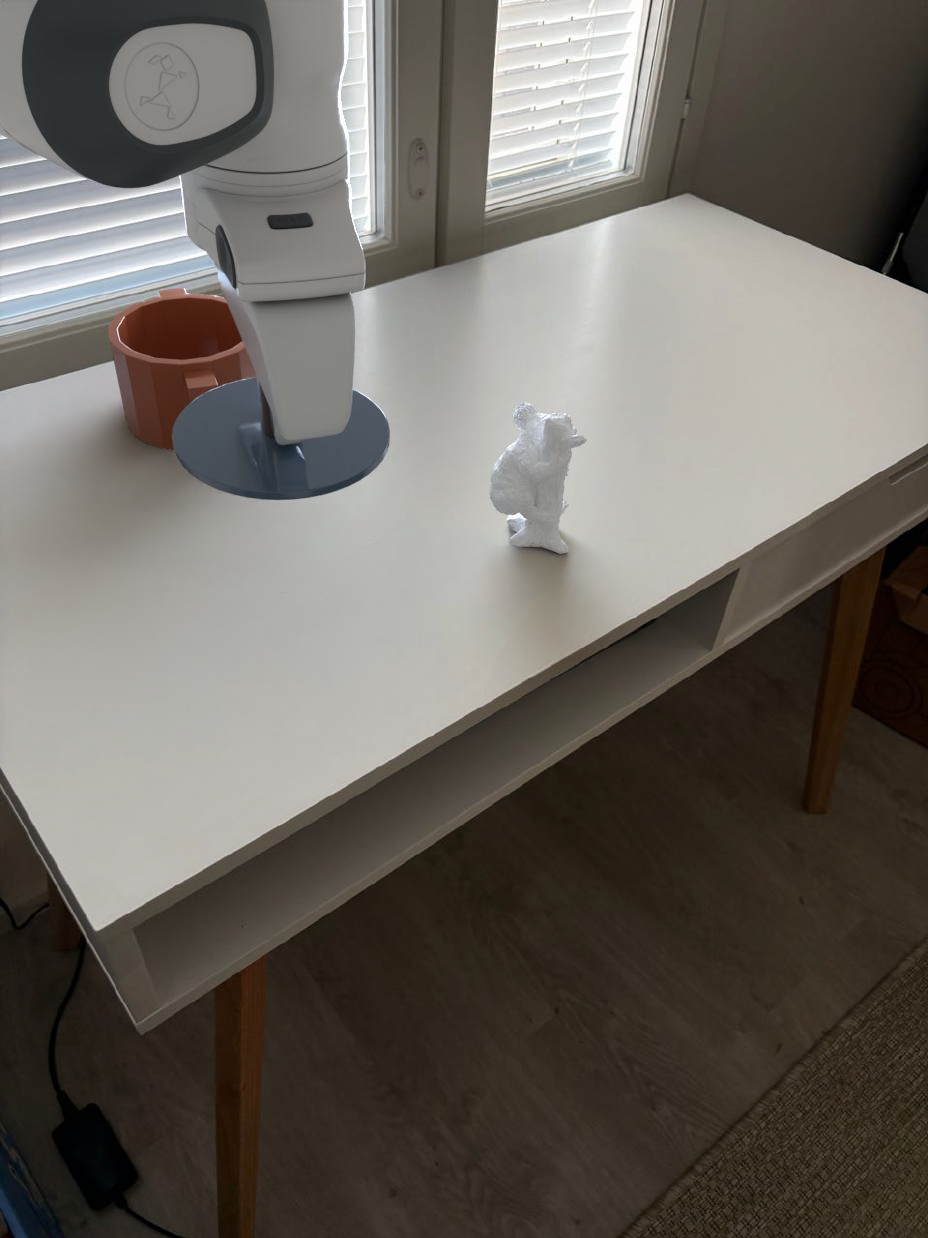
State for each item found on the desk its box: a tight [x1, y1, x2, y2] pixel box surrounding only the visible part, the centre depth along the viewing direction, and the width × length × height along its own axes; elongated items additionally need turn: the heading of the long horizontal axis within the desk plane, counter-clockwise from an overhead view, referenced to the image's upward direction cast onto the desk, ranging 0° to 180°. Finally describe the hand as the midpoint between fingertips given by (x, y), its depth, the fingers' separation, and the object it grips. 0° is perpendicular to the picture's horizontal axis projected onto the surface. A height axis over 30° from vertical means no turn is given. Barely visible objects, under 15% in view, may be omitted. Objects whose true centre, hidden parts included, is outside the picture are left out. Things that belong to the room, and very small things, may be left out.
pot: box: [107, 287, 256, 451], centre depth 90 cm, size 13×18×8 cm
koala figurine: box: [488, 402, 588, 555], centre depth 78 cm, size 8×7×12 cm
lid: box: [172, 377, 391, 501], centre depth 63 cm, size 14×14×5 cm
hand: (281, 422), depth 64 cm, fingers closed on lid, 2 cm apart
